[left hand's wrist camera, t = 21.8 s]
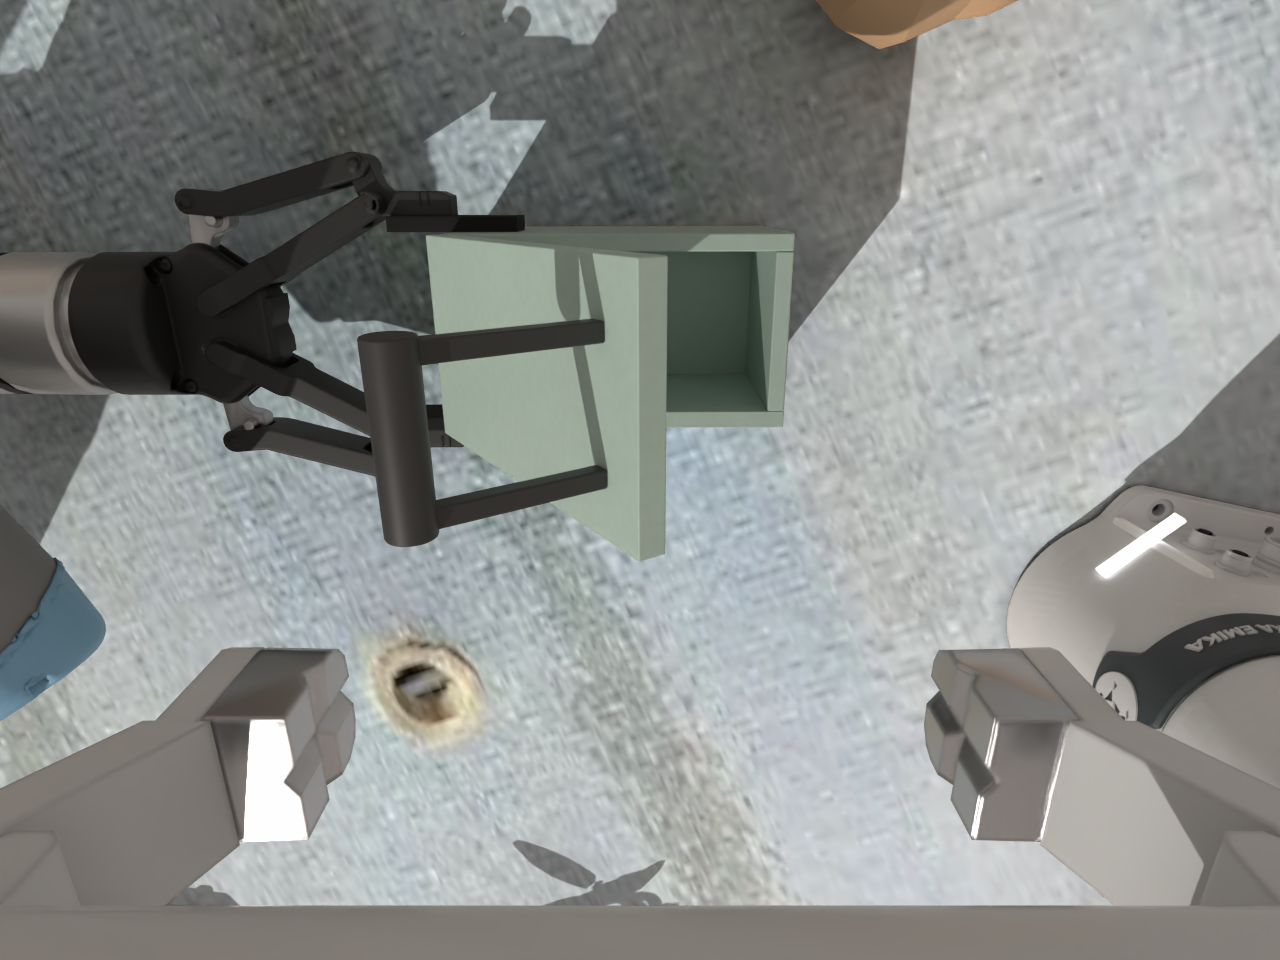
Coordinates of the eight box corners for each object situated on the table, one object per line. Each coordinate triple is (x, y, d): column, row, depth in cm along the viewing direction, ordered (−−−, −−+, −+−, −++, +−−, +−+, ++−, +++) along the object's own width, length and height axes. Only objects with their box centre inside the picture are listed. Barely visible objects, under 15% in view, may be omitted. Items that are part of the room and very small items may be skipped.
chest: (764, 225, 45) (796, 232, 36) (756, 384, 48) (783, 427, 39) (480, 226, 45) (439, 233, 36) (492, 384, 48) (457, 428, 39)
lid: (668, 255, 22) (372, 271, 17) (665, 554, 25) (417, 631, 21) (447, 234, 35) (250, 240, 31) (465, 429, 39) (289, 460, 34)
